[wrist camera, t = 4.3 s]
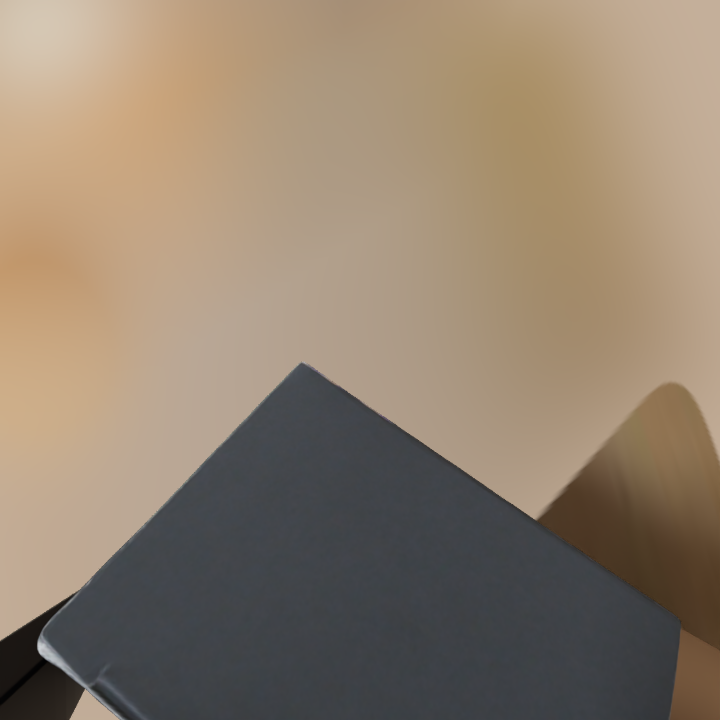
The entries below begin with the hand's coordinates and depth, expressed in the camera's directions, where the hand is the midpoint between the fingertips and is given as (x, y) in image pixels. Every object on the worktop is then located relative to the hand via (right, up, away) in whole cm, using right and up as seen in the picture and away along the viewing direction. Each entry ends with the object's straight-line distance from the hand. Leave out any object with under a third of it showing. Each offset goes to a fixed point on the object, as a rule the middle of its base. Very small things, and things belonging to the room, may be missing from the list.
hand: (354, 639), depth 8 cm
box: (-1, -4, +7) cm, 8 cm away
